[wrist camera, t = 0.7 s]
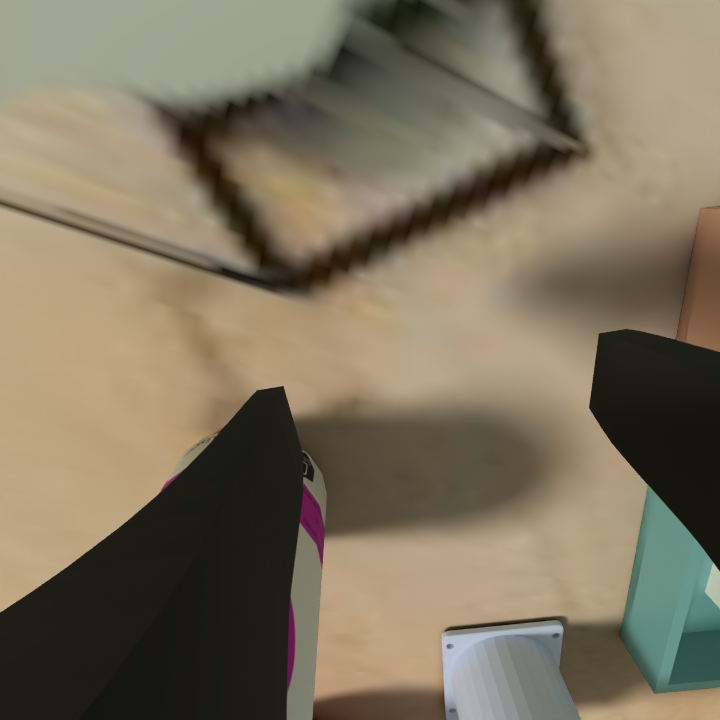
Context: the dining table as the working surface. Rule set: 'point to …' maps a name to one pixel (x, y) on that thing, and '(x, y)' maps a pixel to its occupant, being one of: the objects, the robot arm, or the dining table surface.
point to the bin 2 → (703, 286)
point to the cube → (714, 585)
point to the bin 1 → (671, 606)
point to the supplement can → (297, 584)
